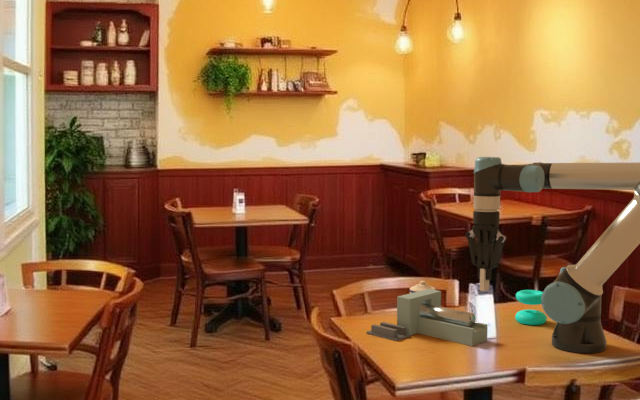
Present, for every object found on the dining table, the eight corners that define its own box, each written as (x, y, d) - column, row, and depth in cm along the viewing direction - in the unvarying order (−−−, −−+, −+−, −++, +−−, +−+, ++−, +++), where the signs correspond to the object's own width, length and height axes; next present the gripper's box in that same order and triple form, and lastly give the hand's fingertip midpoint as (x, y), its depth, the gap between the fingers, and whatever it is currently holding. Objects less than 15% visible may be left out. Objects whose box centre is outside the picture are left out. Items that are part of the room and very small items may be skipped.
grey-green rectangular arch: (440, 326, 245) (441, 291, 244) (409, 335, 234) (409, 299, 233) (428, 323, 249) (428, 288, 247) (396, 332, 237) (397, 296, 236)
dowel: (473, 328, 229) (476, 313, 229) (465, 326, 226) (468, 312, 226) (420, 316, 243) (423, 303, 244) (412, 315, 240) (415, 301, 240)
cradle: (411, 336, 233) (411, 327, 232) (396, 341, 228) (396, 332, 228) (381, 329, 241) (381, 320, 241) (366, 333, 236) (366, 324, 236)
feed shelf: (487, 340, 228) (487, 324, 228) (472, 346, 222) (472, 329, 222) (433, 328, 242) (433, 312, 242) (417, 333, 237) (417, 317, 236)
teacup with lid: (434, 318, 254) (435, 284, 253) (407, 317, 256) (407, 283, 255) (437, 310, 266) (438, 277, 265) (411, 309, 268) (411, 276, 267)
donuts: (522, 287, 256) (552, 291, 250) (522, 316, 257) (551, 321, 251) (510, 292, 248) (540, 296, 242) (510, 322, 249) (539, 327, 243)
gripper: (513, 211, 219) (510, 291, 221) (474, 207, 228) (472, 285, 230) (499, 213, 213) (496, 295, 216) (460, 209, 222) (458, 288, 225)
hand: (484, 290), depth 223 cm, fingers closed
